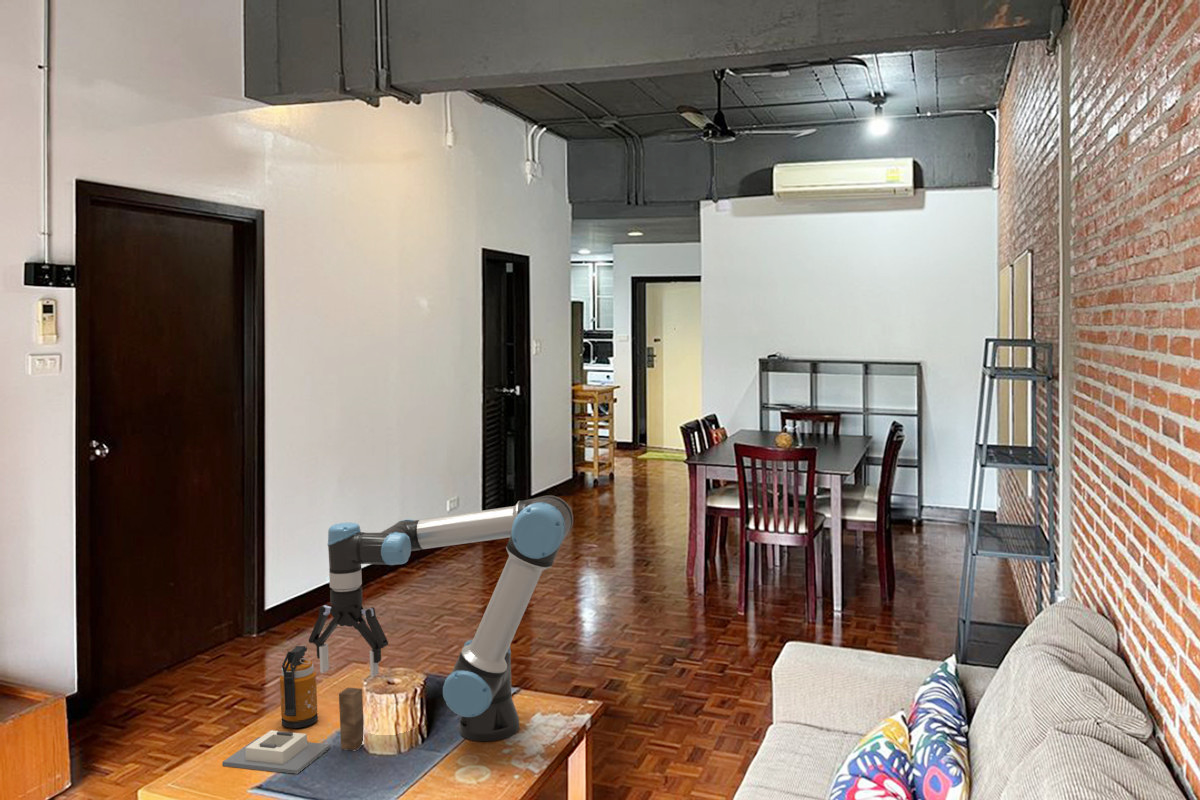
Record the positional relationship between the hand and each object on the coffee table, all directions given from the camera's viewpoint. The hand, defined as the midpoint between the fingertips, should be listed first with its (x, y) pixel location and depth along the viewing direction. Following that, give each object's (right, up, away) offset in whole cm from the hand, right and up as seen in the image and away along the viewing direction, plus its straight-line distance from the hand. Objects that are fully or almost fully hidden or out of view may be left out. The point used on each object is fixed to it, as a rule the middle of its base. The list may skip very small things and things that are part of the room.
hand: (349, 673), depth 228 cm
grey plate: (-16, -19, -4) cm, 25 cm away
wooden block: (+1, -18, +1) cm, 18 cm away
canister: (-17, -18, +15) cm, 29 cm away
